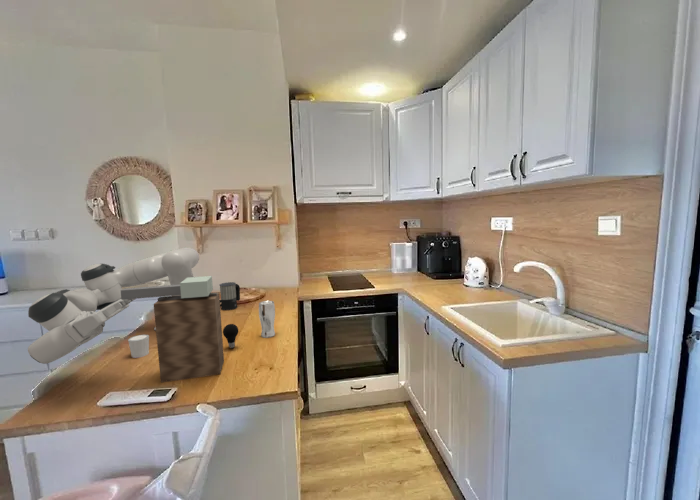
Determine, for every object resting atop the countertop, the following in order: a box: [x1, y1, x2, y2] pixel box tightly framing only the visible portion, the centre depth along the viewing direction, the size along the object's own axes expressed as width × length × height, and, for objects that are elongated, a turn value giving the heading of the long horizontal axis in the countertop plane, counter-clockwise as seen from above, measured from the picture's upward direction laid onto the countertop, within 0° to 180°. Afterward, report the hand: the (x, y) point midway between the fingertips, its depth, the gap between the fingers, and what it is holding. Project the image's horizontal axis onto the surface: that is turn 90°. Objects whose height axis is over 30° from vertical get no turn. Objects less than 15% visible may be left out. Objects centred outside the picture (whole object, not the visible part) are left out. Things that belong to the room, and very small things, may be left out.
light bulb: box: [222, 323, 239, 349], centre depth 128 cm, size 6×6×10 cm
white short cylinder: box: [127, 334, 150, 359], centre depth 124 cm, size 7×7×7 cm
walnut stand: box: [153, 291, 225, 383], centre depth 108 cm, size 18×10×27 cm, turn 105°
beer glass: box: [258, 300, 276, 339], centre depth 141 cm, size 7×7×15 cm
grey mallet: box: [121, 275, 214, 300], centre depth 105 cm, size 26×10×5 cm, turn 105°
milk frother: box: [219, 281, 241, 311], centre depth 189 cm, size 14×16×15 cm
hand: (128, 300), depth 102 cm, fingers open, 8 cm apart
